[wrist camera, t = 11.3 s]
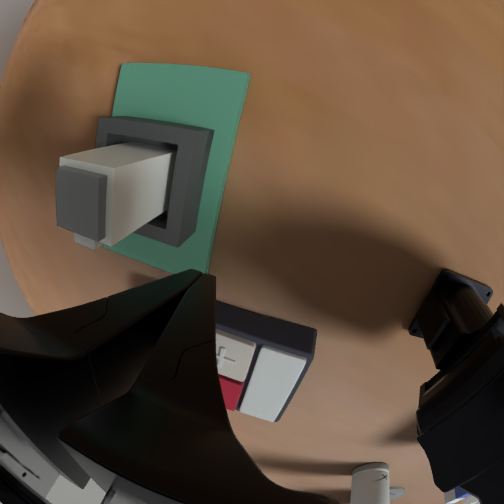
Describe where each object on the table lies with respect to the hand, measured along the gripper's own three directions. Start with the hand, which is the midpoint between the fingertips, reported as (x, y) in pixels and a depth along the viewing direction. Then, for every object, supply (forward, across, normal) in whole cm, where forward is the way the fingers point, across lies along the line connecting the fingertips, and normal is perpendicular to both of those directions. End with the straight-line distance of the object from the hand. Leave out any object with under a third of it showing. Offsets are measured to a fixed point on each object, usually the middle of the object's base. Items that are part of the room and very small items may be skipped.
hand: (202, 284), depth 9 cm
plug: (+10, +8, 0) cm, 13 cm away
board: (+12, +8, 0) cm, 14 cm away
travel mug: (+12, -28, +36) cm, 47 cm away
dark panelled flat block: (+13, 0, +15) cm, 20 cm away
